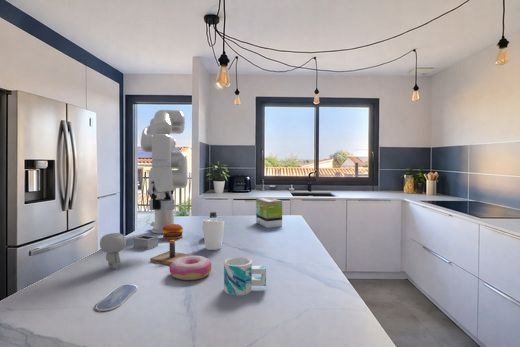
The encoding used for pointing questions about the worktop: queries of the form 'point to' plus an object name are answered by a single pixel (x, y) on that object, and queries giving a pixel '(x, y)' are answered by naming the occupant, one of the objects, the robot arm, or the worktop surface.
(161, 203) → the link
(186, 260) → the donut
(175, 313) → the worktop surface
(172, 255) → the keeper
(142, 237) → the grey hollow block
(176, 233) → the hamburger
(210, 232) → the cup
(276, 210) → the tea box
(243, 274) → the mug
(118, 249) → the figurine
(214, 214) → the perfume bottle
